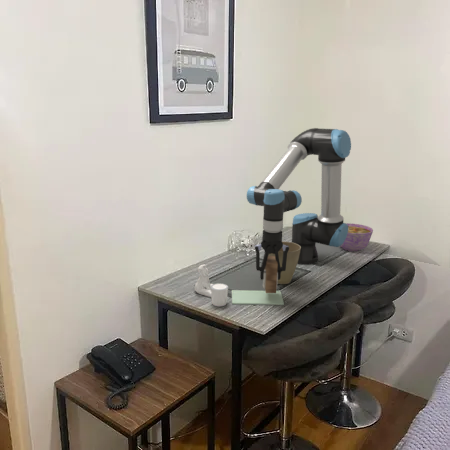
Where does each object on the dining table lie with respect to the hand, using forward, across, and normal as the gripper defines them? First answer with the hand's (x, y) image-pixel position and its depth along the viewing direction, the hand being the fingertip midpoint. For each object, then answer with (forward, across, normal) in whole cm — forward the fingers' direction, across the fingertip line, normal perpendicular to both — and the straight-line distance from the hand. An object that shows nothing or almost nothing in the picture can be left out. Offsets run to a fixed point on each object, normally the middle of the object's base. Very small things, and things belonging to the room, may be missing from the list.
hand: (269, 286), depth 180 cm
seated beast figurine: (+5, +26, -5) cm, 27 cm away
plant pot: (+5, -7, -18) cm, 20 cm away
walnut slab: (+1, 0, 0) cm, 1 cm away
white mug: (+5, +20, +5) cm, 21 cm away
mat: (+5, +5, 0) cm, 7 cm away
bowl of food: (+5, -50, -64) cm, 81 cm away
